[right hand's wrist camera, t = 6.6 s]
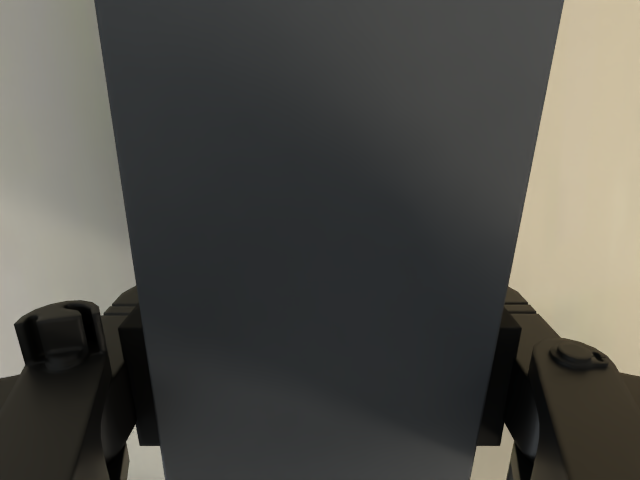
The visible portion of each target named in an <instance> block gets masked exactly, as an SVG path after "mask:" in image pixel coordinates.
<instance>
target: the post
mask: <svg viewBox="0 0 640 480" xmlns="http://www.w3.org/2000/svg"><path fill="white" fill-rule="evenodd" d="M94 1H95V8H96V15H97V21H98V28H99V35H100V42H101V49H102V55H103V62H104V69H105V76H106V82H107V89H108V96H109V103H110V109H111V116H112V123H113V130H114V137H115V143H116V150H117V157H118V164H119V170H120V177H121V184H122V191H123V197H124V204H125V211H126V218H127V224H128V231H129V238H130V245H131V252H132V258H133V265H134V272H135V279H136V285H137V292H138V299H139V306H140V312H141V319H142V326H143V333H144V340H145V346H146V353H147V360H148V367H149V373H150V380H151V387H152V394H153V400H154V407H155V414H156V421H157V428H158V434H159V441H160V448H161V455H162V461H163V468H164V475H165V480H470V476H471V471H472V466H473V461H474V456H475V451H476V446H477V441H478V436H479V431H480V426H481V420H482V415H483V410H484V405H485V400H486V395H487V390H488V385H489V380H490V375H491V370H492V365H493V359H494V354H495V349H496V344H497V339H498V334H499V329H500V324H501V319H502V314H503V309H504V303H505V298H506V293H507V288H508V283H509V278H510V273H511V268H512V263H513V258H514V253H515V247H516V242H517V237H518V232H519V227H520V222H521V217H522V212H523V207H524V202H525V197H526V191H527V186H528V181H529V176H530V171H531V166H532V161H533V156H534V151H535V146H536V141H537V135H538V130H539V125H540V120H541V115H542V110H543V105H544V100H545V95H546V90H547V85H548V80H549V74H550V69H551V64H552V59H553V54H554V49H555V44H556V39H557V34H558V29H559V24H560V18H561V13H562V8H563V3H564V0H94Z"/></svg>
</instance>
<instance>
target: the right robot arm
mask: <svg viewBox="0 0 640 480" xmlns="http://www.w3.org/2000/svg"><path fill="white" fill-rule="evenodd" d="M14 327H15V330H16V334H17V337H18V341H19V344H20V348H21V351H22V355H23V358H24V362H25V367H24V369H23V370H22V372H21V374H20V375H16V376H11V377H6V378H0V480H127V474H128V467H129V455H128V449H127V444H126V441H127V439H128V437H129V435H130V433H131V432H132V430H133V428H134V426H135V424H136V428H137V434H138V439H139V444H140V446H160V441H159V434H158V428H157V421H156V414H155V407H154V400H153V394H152V387H151V380H150V373H149V367H148V360H147V353H146V346H145V340H144V333H143V326H142V319H141V312H140V306H139V299H138V292H137V285H136V286H135V287H133V288H131V289H129V290H127V291H126V292H124V293H122V294H121V295H120V296H119V297H118V298H117V300H116V301H115V302H114V303H113V304H112V306H110V307H109V308H108V309H107V310H106V311H105V312H104V316H101V315H100V310H99V306H97V305H96V304H94V303H93V302H88V301H82V300H78V301H64V302H59V303H54V304H50V305H47V306H44V307H41V308H38V309H35V310H33V311H32V312H30V313H28V314H26V315H24V316H22V317H21V318H20V319H19V320H18V321H17V322H16V323H15V324H14ZM504 422H505V424H506V426H507V428H508V430H509V432H510V433H511V435H512V437H513V439H514V444H513V449H512V454H511V459H510V464H509V469H508V474H507V479H506V480H640V376H635V375H629V374H624V373H620V372H619V371H618V370H617V368H616V366H615V364H614V363H613V362H612V361H611V360H610V359H609V358H608V356H606V355H605V354H603V353H602V352H600V351H599V350H597V349H596V348H594V347H591V346H589V345H586V344H584V343H581V342H578V341H574V340H570V339H565V338H561V337H560V336H559V335H558V334H557V333H556V332H555V331H554V330H553V329H552V328H551V327H550V326H549V325H548V324H547V322H546V321H545V320H544V319H543V318H542V317H541V316H540V315H539V314H536V311H535V310H534V309H533V308H532V307H531V305H528V302H527V301H526V300H525V299H524V298H523V297H522V296H521V295H520V294H519V293H518V292H517V291H515V290H513V289H512V288H510V287H508V288H507V293H506V298H505V303H504V309H503V314H502V319H501V324H500V329H499V334H498V339H497V344H496V349H495V354H494V359H493V365H492V370H491V375H490V380H489V385H488V390H487V395H486V400H485V405H484V410H483V415H482V420H481V426H480V431H479V436H478V441H477V446H500V443H501V437H502V432H503V427H504Z"/></svg>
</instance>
